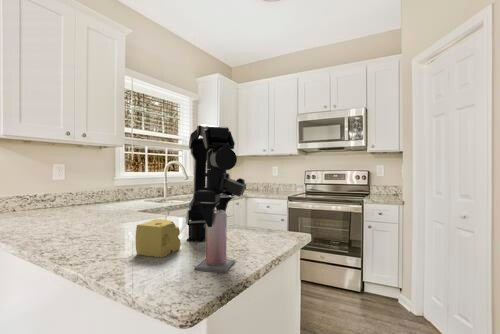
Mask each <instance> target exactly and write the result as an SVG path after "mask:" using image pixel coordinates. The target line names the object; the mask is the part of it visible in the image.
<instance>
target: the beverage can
mask: <svg viewBox="0 0 500 334" xmlns="http://www.w3.org/2000/svg"><path fill="white" fill-rule="evenodd" d="M227 218H228V215H227V210H226V211H224V210H216V209H215V211H214V218H213V224H212V227H208V226H207V224H206V239H205V259H206V263H207V264H208V265H210V266H220V265H223V264H225V262H226V259H227V231H228V228H227V222H228V221H227V220H228V219H227Z"/></svg>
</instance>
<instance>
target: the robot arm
mask: <svg viewBox="0 0 500 334" xmlns="http://www.w3.org/2000/svg"><path fill="white" fill-rule="evenodd" d="M235 144H236V143H235V140H234V138H233V135H232V132H231V131H230V128H229V127H228V126H217V125H211V124H204V123H200V124H198V125H197V126H196V129H195V130H194V131H193V132H191V133H190V137H189V141H188V148H189V149H188V150H190V155H191V157H192V158H193V160H194V168H193V169H194V170H193V171H194V172H193V174H194V175H193V194H192V199H191V200H190V202H189V204H188V208H187V210H186V215H185V224H186V225H187V226H188V238H186V241H188V242H199V243H201V242H202V243H203V241H206V224H207V226H208V227H212V224H213V218H214V211H215V210H224V211H226V212H227V209H228V204H229V203H230V202H231V201H232V200H233V199H234V197H235V196H236V197H241V196H243V195H244V193H245V190H246V189H247V184H246V183H245V179H243V178H240V177H239V178H237V179H236V180H235V179H233V178H231V177H230V174H229V172H227V171H230V170H232V169H233V168H234V167H235V166H236V164H237V160H238V157H237V154H236V153H235V151H234V150H235Z"/></svg>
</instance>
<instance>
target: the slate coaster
mask: <svg viewBox="0 0 500 334" xmlns="http://www.w3.org/2000/svg"><path fill="white" fill-rule="evenodd" d="M235 263H236V260H235V259H227V258H226V262H225V264H223V265H220V266H210V265H208V264H207V263H206V258H205V259H203V260H202V261H200V263H198V264H197V265H196V266H195V267H194V270H195V271H200V270H203V271H202V272H210V273H211V272H212V273H221V274H226V273H227V272H228V271H229V270H230V268H231V267H232V266H233V265H234V264H235Z"/></svg>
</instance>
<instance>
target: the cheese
mask: <svg viewBox="0 0 500 334" xmlns="http://www.w3.org/2000/svg"><path fill="white" fill-rule="evenodd" d="M180 231H181V230H180V227H179V226H177V225H176V224H175V223H174V221H173V220H167V219H161V218H154V219H152V220H150V221H146V222H141V223H138V224H137V225H136V229H135V252H136V255H137V256H145V257H146V256H147V257H153V256H154V258H159V257H160V258H165V257H167V255H168V256H169V254H170V253H175V252H176V251H179V250H180V249H181V239H180V238H179V236H180Z"/></svg>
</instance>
